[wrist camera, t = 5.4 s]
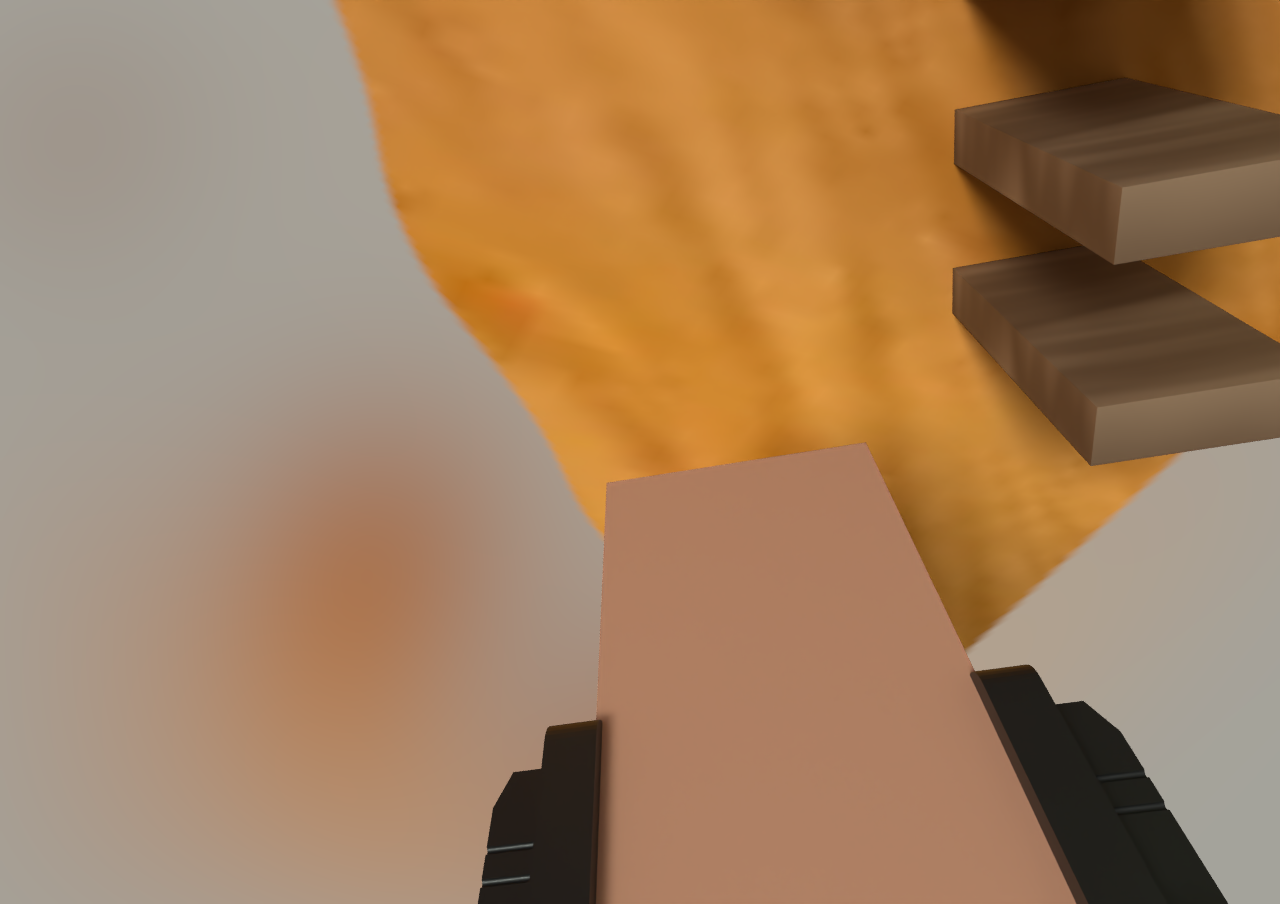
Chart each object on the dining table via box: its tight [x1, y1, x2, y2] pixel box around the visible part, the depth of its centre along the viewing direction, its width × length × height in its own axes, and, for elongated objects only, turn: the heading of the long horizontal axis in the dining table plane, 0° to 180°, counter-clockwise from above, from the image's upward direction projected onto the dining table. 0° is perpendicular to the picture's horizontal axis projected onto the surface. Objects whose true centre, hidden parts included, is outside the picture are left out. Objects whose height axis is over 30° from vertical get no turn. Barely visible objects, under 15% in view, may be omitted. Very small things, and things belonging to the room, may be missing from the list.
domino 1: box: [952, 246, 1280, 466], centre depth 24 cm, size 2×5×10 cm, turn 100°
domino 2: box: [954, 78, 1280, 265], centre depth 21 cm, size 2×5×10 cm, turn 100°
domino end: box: [596, 443, 1076, 904], centre depth 12 cm, size 2×5×10 cm, turn 100°
